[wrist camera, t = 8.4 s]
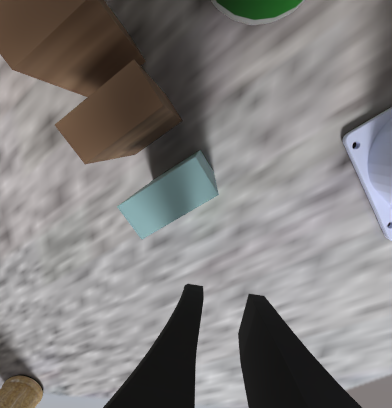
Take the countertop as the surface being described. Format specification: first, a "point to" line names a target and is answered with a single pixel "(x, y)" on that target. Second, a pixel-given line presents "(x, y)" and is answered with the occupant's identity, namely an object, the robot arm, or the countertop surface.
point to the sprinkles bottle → (20, 393)
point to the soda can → (256, 10)
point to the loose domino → (170, 195)
